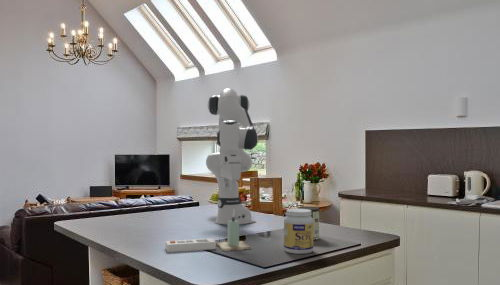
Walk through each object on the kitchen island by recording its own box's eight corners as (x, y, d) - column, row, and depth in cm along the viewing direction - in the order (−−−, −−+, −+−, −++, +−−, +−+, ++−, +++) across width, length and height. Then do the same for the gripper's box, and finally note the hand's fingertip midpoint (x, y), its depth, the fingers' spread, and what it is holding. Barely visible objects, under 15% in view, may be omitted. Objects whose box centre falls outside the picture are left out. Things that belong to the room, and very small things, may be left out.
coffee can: (299, 234, 223) (300, 205, 223) (320, 236, 220) (321, 207, 220) (294, 239, 213) (295, 208, 213) (316, 240, 210) (317, 209, 210)
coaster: (242, 243, 204) (242, 240, 204) (250, 249, 193) (250, 246, 193) (216, 244, 200) (216, 242, 200) (223, 251, 189) (223, 248, 189)
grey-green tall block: (236, 243, 199) (236, 216, 199) (238, 245, 195) (239, 217, 195) (227, 243, 198) (227, 216, 198) (229, 245, 194) (230, 218, 194)
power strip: (211, 245, 199) (211, 237, 199) (215, 248, 192) (215, 240, 192) (165, 248, 193) (165, 239, 193) (167, 252, 186) (167, 243, 186)
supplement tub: (292, 255, 182) (292, 213, 182) (278, 249, 193) (278, 208, 193) (319, 253, 187) (319, 211, 187) (303, 246, 198) (304, 207, 198)
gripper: (216, 155, 210) (216, 186, 211) (229, 158, 191) (228, 192, 191) (230, 155, 212) (229, 185, 213) (243, 158, 193) (243, 191, 193)
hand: (229, 188), depth 202 cm, fingers open, 8 cm apart
